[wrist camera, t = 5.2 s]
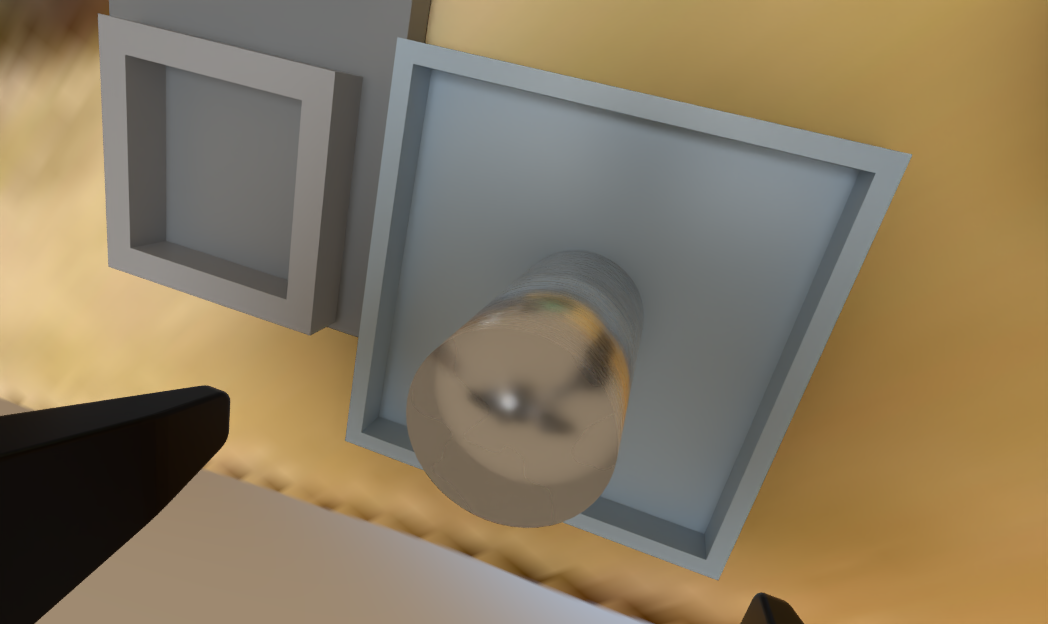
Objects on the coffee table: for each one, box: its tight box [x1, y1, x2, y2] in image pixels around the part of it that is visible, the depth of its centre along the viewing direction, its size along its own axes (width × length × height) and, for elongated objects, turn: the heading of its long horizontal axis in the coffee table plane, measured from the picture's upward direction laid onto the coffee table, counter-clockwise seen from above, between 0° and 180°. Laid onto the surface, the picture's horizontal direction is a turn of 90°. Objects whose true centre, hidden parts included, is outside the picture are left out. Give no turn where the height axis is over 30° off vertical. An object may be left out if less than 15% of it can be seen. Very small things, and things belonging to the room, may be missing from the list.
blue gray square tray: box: [345, 37, 912, 580], centre depth 18 cm, size 14×14×2 cm
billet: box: [406, 250, 644, 528], centre depth 15 cm, size 4×4×8 cm
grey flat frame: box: [98, 0, 431, 337], centre depth 17 cm, size 11×20×3 cm, turn 167°
